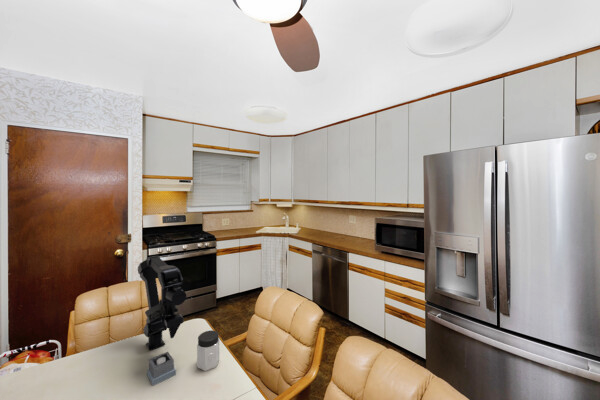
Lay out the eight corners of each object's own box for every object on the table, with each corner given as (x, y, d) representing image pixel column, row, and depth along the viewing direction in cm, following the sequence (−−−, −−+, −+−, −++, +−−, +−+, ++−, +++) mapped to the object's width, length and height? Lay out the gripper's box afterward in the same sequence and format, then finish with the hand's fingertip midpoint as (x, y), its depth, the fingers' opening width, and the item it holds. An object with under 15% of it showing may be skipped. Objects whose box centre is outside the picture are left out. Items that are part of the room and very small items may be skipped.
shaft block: (146, 374, 97) (146, 359, 97) (168, 364, 103) (168, 350, 102) (152, 385, 91) (152, 369, 91) (175, 374, 97) (175, 359, 97)
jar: (199, 373, 97) (199, 344, 97) (195, 362, 104) (195, 334, 104) (222, 365, 102) (222, 337, 102) (216, 354, 109) (216, 328, 109)
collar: (167, 361, 102) (167, 351, 102) (173, 369, 97) (173, 359, 97) (148, 369, 97) (148, 359, 97) (153, 378, 92) (153, 368, 92)
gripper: (142, 295, 106) (142, 330, 106) (153, 311, 92) (152, 352, 93) (170, 288, 114) (170, 321, 114) (184, 302, 100) (183, 340, 101)
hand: (168, 333), depth 105 cm, fingers open, 9 cm apart
